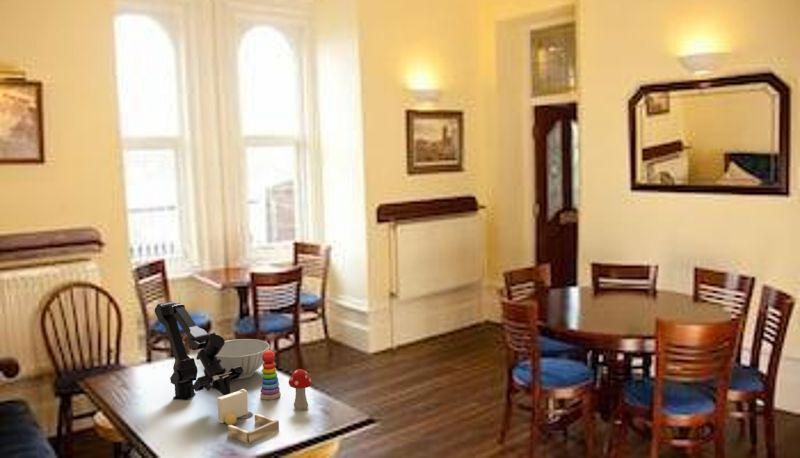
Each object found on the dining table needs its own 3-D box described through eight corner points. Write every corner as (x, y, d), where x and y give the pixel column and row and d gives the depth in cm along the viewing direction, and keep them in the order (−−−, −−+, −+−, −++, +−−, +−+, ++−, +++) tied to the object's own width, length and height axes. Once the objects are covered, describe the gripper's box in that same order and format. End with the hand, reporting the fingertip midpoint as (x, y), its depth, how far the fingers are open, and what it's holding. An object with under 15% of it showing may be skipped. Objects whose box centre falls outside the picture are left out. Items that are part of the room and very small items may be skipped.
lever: (218, 421, 244) (217, 396, 243) (244, 412, 252) (243, 388, 251) (222, 423, 242) (221, 398, 241) (247, 414, 250) (246, 389, 249)
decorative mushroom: (286, 405, 260) (285, 367, 258) (308, 401, 263) (307, 364, 261) (293, 414, 251) (291, 375, 249) (315, 410, 254) (314, 371, 252)
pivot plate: (231, 415, 250) (231, 415, 250) (245, 410, 255) (245, 409, 255) (241, 420, 246) (241, 419, 246) (256, 415, 251) (256, 414, 251)
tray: (228, 435, 233) (227, 425, 232) (257, 422, 243) (257, 413, 243) (249, 443, 226) (249, 433, 226) (279, 430, 237) (278, 420, 236)
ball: (223, 426, 240) (222, 415, 240) (228, 422, 244) (227, 411, 244) (233, 427, 240) (233, 416, 239) (238, 423, 244) (238, 412, 243)
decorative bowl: (263, 384, 283) (262, 356, 281) (199, 385, 283) (198, 357, 282) (276, 364, 309) (275, 338, 308) (217, 365, 310) (216, 339, 308)
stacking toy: (284, 394, 271) (282, 348, 269) (274, 401, 264) (272, 354, 262) (266, 392, 274) (265, 347, 272) (256, 399, 266) (254, 352, 264)
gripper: (223, 367, 266) (241, 401, 260) (180, 380, 252) (198, 416, 246) (234, 352, 260) (253, 386, 254) (191, 363, 246) (209, 400, 240)
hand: (228, 397), depth 249 cm, fingers closed
